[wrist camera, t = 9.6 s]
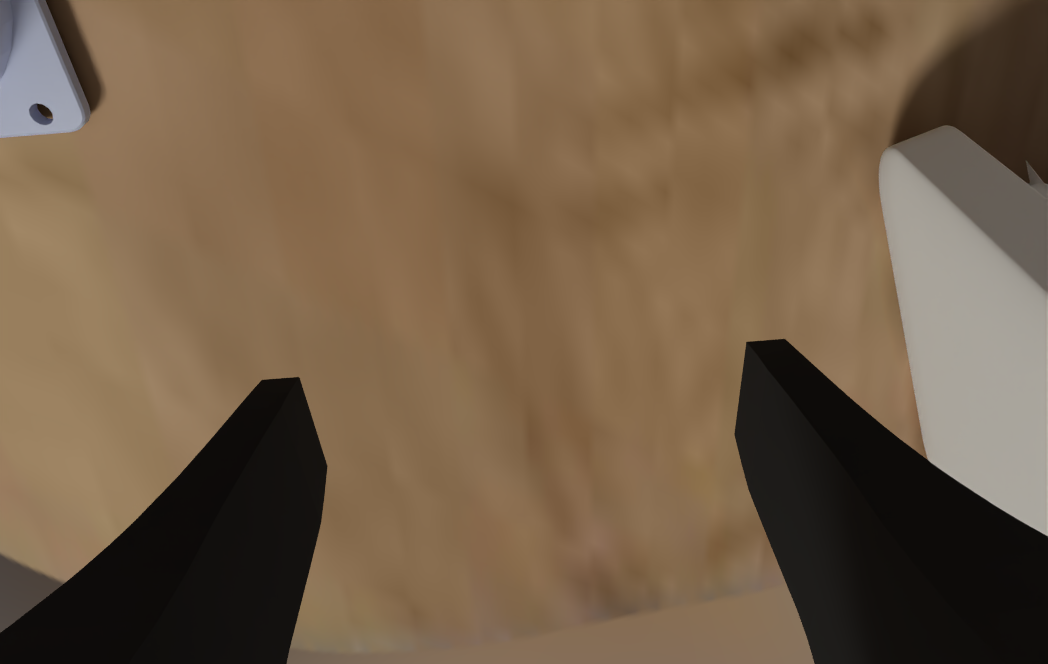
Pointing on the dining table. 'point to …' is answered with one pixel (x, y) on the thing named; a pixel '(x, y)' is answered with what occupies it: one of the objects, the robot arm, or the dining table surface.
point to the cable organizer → (974, 312)
